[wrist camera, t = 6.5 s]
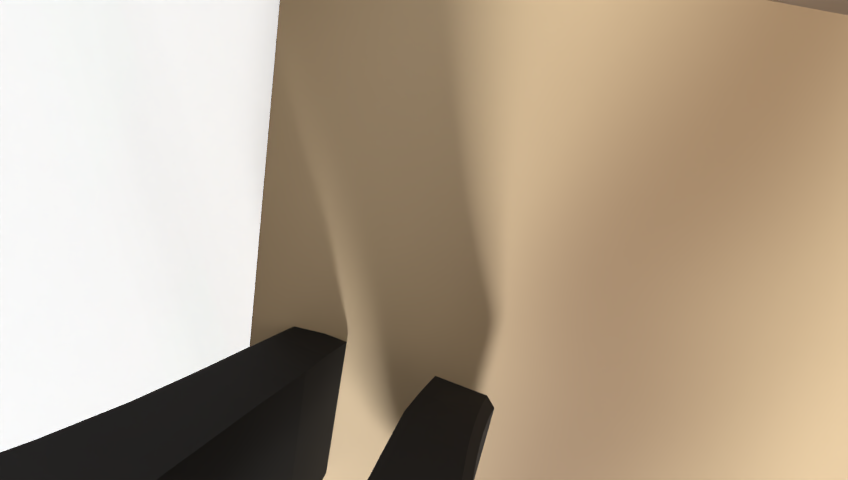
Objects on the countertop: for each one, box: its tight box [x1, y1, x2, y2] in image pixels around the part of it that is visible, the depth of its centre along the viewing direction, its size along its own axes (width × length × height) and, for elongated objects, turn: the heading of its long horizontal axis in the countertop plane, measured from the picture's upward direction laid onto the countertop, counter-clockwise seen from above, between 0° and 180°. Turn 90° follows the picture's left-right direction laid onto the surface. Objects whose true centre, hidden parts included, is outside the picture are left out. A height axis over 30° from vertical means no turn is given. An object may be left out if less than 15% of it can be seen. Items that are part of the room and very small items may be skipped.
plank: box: [250, 0, 848, 480], centre depth 10 cm, size 9×11×2 cm
